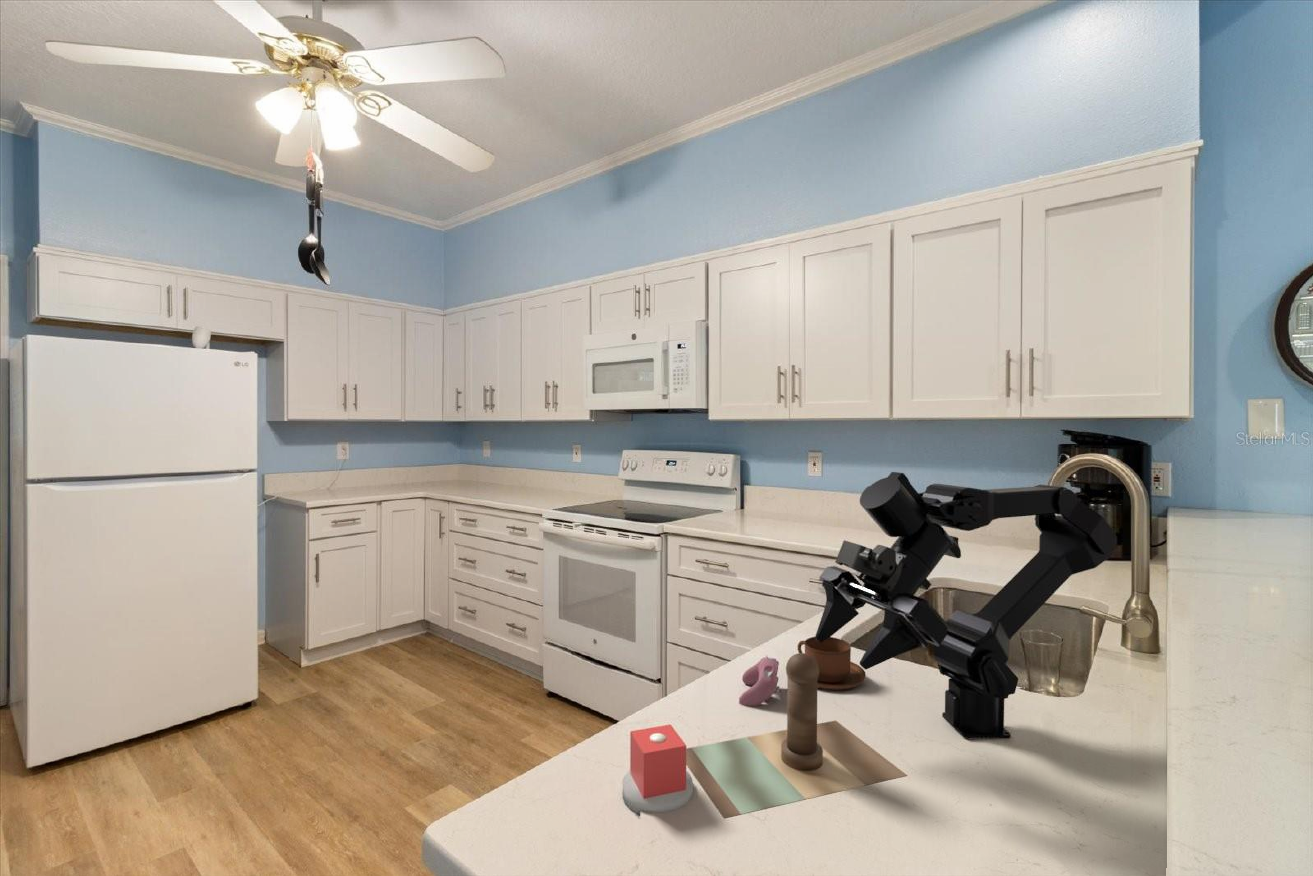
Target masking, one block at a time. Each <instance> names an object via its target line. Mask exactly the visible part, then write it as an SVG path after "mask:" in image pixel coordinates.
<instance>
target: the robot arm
mask: <svg viewBox="0 0 1313 876" xmlns="http://www.w3.org/2000/svg"><path fill="white" fill-rule="evenodd" d="M859 504H860V505H861V508H863V509H864V510H865V512H866V514H868V515H869V516H870V517H871V519H872V520H873V522H875V524H876V525H877V526H878V527H879V528H880V529H881V530H882V532H883V533H884V534H885V535H887V536H888V537H890V538H896V540H895V541H894V543H893V544H892V545H891V546H890V547H888V546H885V545H881V544H876V546H875V547H873V549H872V548H869V547H867V546H864V545H862V544H859V543H855V542H851V541H848V540H843V541H842V544H841V547H840V549H839V552H838V554H837V557H836V559H835V561H834V562H835V564H837V565H839V566H845V567H848V568H850V569H851V570H854V571H856V572H855V574H854V575H855V576H854V575H853V574H852V573H851V572H850V571H849V570H846V569H843V568H841V567H838V566H835V565H833V566H826V568H825V569H824V570H823V571H822V573H821V574H820V575H819V579H820V581H821V582H822V583H821V586H822V588H823V589H824V591H825V596H826V601H825V605H824V609H823V612H822V616H821V618H820V621H819V624H818V628H817V630H816V633H815V636H814V637H815V638H816V640H817V641H818V642H820V643H822V642H824V641H825V640H827V639H828V638H829V637H833V635H834V634H836V633H838V631H840V630H841V629H842V628H843V627H844V626H846V625H847V624H848V623H850V622H851V621H852V620H853V619H854V618H855V617H857V616H858V615H859V614H860V613H859V611H858V610H859V609H861V608H863V607H864V606H865V605H866V604H867V605H870V606H872V607H874V608H877V609H879V610H882V611H884V614H883V625H882V627H881V628H880V629H879V631H878V633H877V634H876V636H875V637H874V639H873V640H872V642H871V643H870V644H869V646H868V647H867V649H866V650H865V652H864V654H863V656H862V657H861V659H860V661H859V666H860V667H861V668H862V669H863V670H869V669H871V668H873V667H875V666H877V665H879V664H881V663H884V662H886V661H888V660H890V659H892V658H895V657H898V656H900V655H902V654H904V653H908V652H910V651H913V650H916V649H918V648H925V649H927V648H928V647H929V646H930V645H929V644H931V645H932V654H933V655H932V656H933V657H934V660H935V661H936V663H937V664H936V665H937V667H938V670H939V674H940V675H942V676H945V677H947V678H948V687H947V689H945V692H944V711H943V712H942V715H941V716H942V718H944V720H945V721H946V722H947V723H948V724H950V726H951V727H952V728H953V729H954V730H955V731H956V732H957V733H958V734H959V735H961V737H963V738H965V739H1011V738H1012V734H1011V732H1009V730H1008V729H1006V728H1005V699H1009V696H1010V695H1014V694H1016V689H1017V688H1018V682H1019V678H1018V676H1017V675H1016V674H1015V673H1014V672H1013V670H1012V669H1011V668H1010V667H1009V666H1008V665H1007V662H1008V660H1009V657H1010V640H1011V639H1012V638H1013V636H1015V635H1016V633H1017V632H1018V631H1019V630H1020V629H1021V628H1022V627H1024V625H1025V624H1026V623H1027V622H1028V621H1029V620H1030V619H1031V618H1032V617H1033V616H1034V614H1035V613H1036V612H1038V610H1040V609H1041V607H1042V606H1043V605H1044V604H1046V603H1047V601H1048V600H1049V599H1050V598H1051V597H1052V596H1053V595H1054V594H1055V593H1056V591H1058V590H1059V589H1060V587H1061V586H1062V585H1063V584H1064V583H1065V582H1066V581H1068V579H1069V578H1070V577H1071V576H1073V575H1076V574H1079V573H1083V572H1086V571H1089V570H1093V569H1096V568H1097V567H1098V566H1100V565H1101V564H1103V563H1105V562H1106V561H1107V560H1108V559H1109V558H1110V557H1111V556H1112V555H1113V553H1114V552H1115V551H1116V548H1117V546H1118V537H1117V535H1116V533H1115V531H1114V529H1112V527H1111V525H1110V524H1109V523H1108V522H1107V520H1106V519H1105V518H1104V516H1103V515H1101V514H1100V513H1098V512H1097V511H1096V510H1094V509H1093V508H1091V507H1090V506H1089V505H1087V504H1085V502H1083V501H1081V499H1079V497H1078V495H1076V494H1075V492H1074V491H1073V490H1072V489H1069V488H1067V487H1064V486H1057V485H1049V484H1048V485H1047V484H1038V485H1034V486H1026V487H1025V486H1022V487H1006V488H1005V487H1004V488H992V489H990V488H989V489H988V488H987V489H980V488H976V487H969V486H959V485H952V484H951V485H950V484H945V483H944V484H943V483H932V484H929V485H928V486H926V489H925V491H922V492H918V491H917V490H916V489H915V488H914V486H913V485H912V483H911V481H910V479H909V478H908V477H907V476H906V474H905V473H904V472H898V471H891V472H890V474H889V475H888V476H887V477H883V478H881V479H879V480H877V481H875V482H874V483H872V484H871V485H869V486H867V487H865V488H864V490H863V491H862V493H861V495H860V497H859ZM1028 516H1029V517H1030V516H1035V517H1034V518H1035V519H1034V520H1035V527H1037V529H1038V530H1039V532H1041V533H1040V535H1039V539H1038V540H1039V541H1038V542H1039V543H1038V545H1039V547H1038V548H1039V549H1038V552H1036V554H1035V555H1034V556H1033V557H1032V558H1031V559H1030V560H1029V561H1028V562H1027V563H1026V564H1025V565H1024V566H1023V567H1022V568H1021V569H1019V571H1018V572H1017V573H1016V574H1015V575H1014V576H1013V577H1011V579H1010V580H1008V582H1007V583H1006V584H1005V585H1004V586H1003V587H1002V588H1001V589H1000V590H999V591H998V592H997V593H996V594H995V595H994V596H993V597H992V598H991V599H990V600H989V601H988V602H987V603H986V604H985V605H984V606H983V607H982V608H981V609H980V610H979V611H977V612H976V613H969V612H966V611H964V610H960V609H957V610H954V612H952V613H951V615H950V616H949V618H948V619H947V620H945V619H944V618H943V617H942V616H941V615H940V614H939V612H938V611H937V610H936V609H935V608H934V607H933V605H932V604H931V603H930V602H929V601H928V600H927V599H925V598H922V597H919V596H917V595H916V593H917V592H918V590H919V589H923V590H925V591H928V590H929V589H930V587H931V586H932V583H931V582H930V581H929V579H928V577H929V576H930V575H931V574H932V572H933V570H934V569H935V568H936V566H937V565H938V564H939V563H940V561H941V560H942V558H943V557H944V556H949V557H951V558H955V559H961V557H962V549H961V548H960V546H959V545H960V544H959V537H957V536H953V535H950V534H948V532H947V531H946V530H945V528H944V527H946V528H950V529H954V530H961V531H965V532H966V531H967V532H970V531H974V530H978V529H980V528H984V527H986V526H989V525H990V524H991V523H992V522H993V521H994V520H999V519H1007V518H1017V517H1028ZM860 581H861V582H862V583H863V585H862V584H861V582H860Z"/></svg>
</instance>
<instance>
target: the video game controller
mask: <svg viewBox="0 0 1313 876" xmlns="http://www.w3.org/2000/svg"><path fill="white" fill-rule="evenodd" d="M779 665H780V662H779V661H778V660H777V659H776V658H775V657H774V658H773V657H772V656H771V657H769V656H768V655H765V657H762V658H760V660H759V661H758V662H757V663H755V664H754V665H753V666H751V667H749V668H748V669H746V670H745V672H744V673H743V675H742V677H741V679H742V682H743V683H744V684H745V685H748V686H751V687H749V688H748V689H746V690H745V691H743V693H742V694H741V695H740V696H739V699H738V704H739V705H741V706H744V707H745V706H746V707H758V706H760V705H762V704H763V703H765V702H766V701H767V700H768V699H770V698H771V697H772V696H773V694H775V695H776V694H777V693H779V691H780V686H779V685H778V683H779V679H780V678H779V676H777V675H778V671H779Z"/></svg>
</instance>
